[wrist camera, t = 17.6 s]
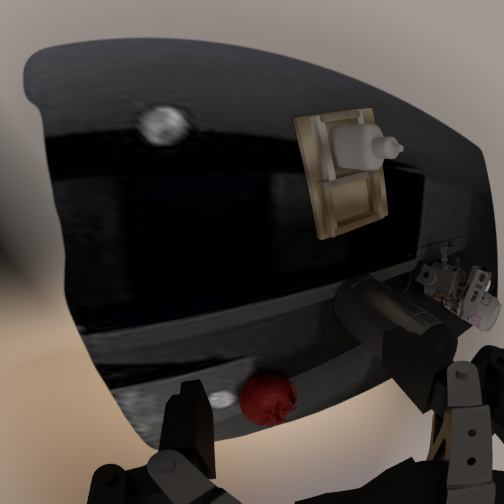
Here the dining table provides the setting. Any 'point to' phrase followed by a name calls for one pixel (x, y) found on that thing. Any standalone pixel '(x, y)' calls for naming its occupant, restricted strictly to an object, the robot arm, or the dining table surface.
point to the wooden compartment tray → (338, 176)
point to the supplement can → (483, 312)
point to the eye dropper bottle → (361, 146)
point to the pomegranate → (267, 399)
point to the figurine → (453, 284)
